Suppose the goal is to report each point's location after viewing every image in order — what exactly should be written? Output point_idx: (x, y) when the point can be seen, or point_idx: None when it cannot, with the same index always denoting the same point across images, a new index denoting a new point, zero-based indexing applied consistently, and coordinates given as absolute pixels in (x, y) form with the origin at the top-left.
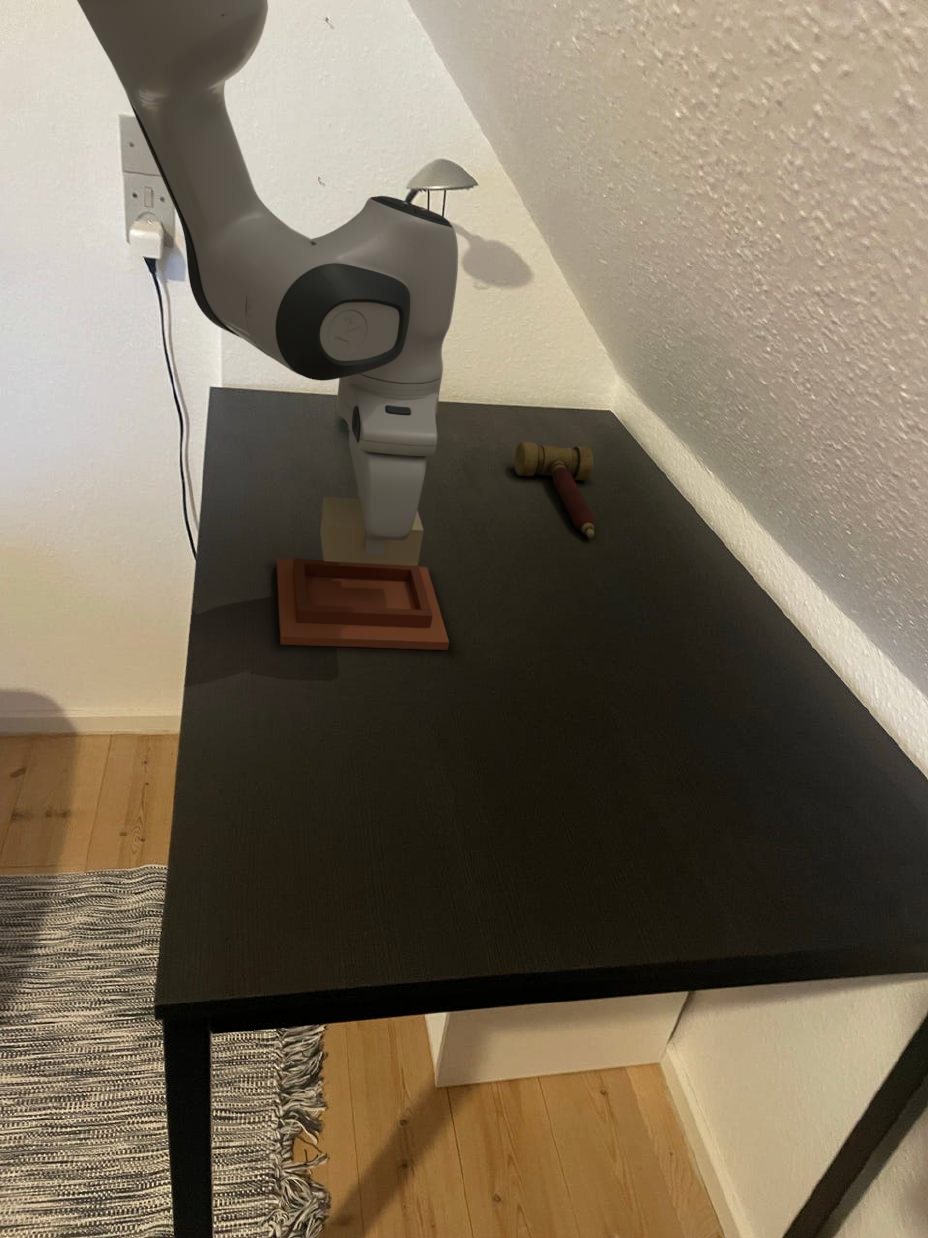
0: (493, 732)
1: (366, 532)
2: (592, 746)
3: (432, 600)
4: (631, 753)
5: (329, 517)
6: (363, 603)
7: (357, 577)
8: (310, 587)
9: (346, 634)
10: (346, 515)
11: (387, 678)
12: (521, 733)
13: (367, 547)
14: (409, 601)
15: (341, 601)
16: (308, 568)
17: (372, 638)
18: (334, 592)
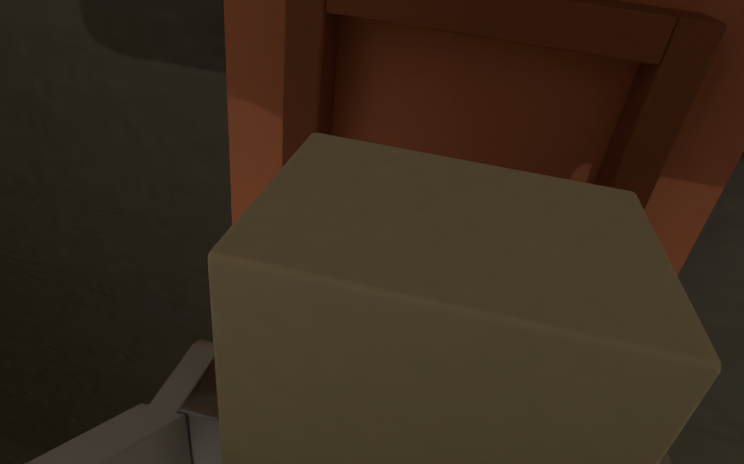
0: (3, 309)
1: (215, 423)
2: (17, 421)
3: None
4: (19, 454)
5: (316, 297)
6: None
7: None
8: (547, 64)
9: (248, 120)
10: (356, 407)
11: (122, 175)
12: (16, 348)
13: (177, 366)
14: None
15: (434, 154)
16: (644, 81)
17: (235, 188)
18: (496, 145)
